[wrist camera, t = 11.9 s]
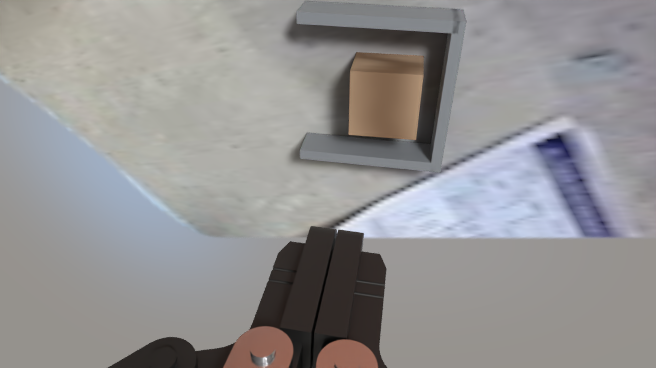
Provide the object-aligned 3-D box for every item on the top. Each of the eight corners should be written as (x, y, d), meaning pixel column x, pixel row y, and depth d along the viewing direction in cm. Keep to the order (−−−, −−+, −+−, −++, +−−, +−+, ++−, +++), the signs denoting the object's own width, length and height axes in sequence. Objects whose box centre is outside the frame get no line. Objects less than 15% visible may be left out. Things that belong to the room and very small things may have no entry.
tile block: (354, 111, 39) (348, 134, 36) (356, 51, 36) (350, 70, 33) (416, 115, 38) (415, 140, 35) (423, 55, 35) (423, 75, 32)
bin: (307, 140, 41) (299, 158, 39) (305, 1, 34) (296, 11, 32) (439, 153, 40) (440, 172, 37) (463, 9, 33) (466, 21, 31)
